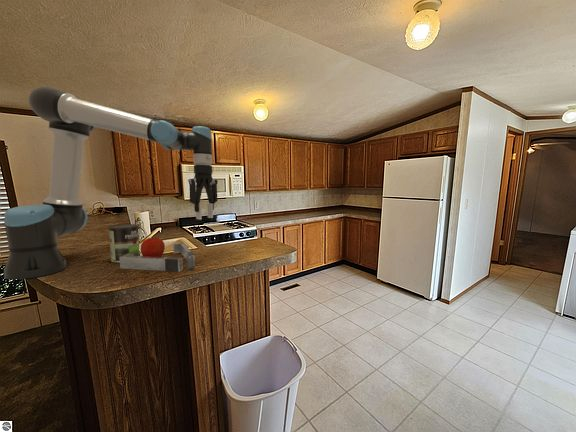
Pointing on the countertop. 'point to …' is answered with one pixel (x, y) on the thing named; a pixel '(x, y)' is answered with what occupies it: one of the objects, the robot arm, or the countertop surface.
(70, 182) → the robot arm
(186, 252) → the jaw
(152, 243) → the apple
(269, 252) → the countertop surface
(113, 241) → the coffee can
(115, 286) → the countertop surface
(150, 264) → the long grey bar
